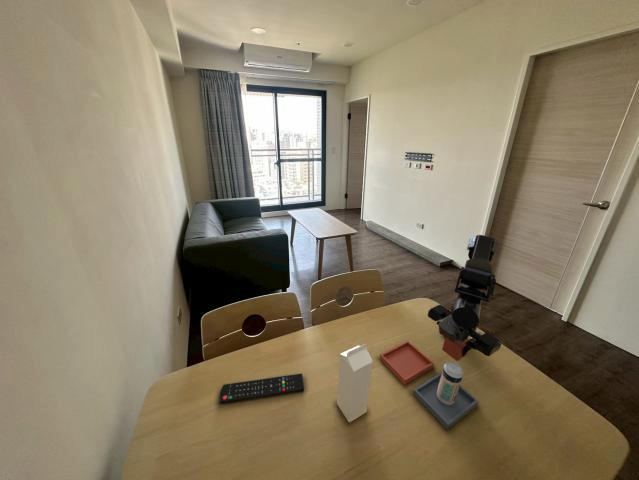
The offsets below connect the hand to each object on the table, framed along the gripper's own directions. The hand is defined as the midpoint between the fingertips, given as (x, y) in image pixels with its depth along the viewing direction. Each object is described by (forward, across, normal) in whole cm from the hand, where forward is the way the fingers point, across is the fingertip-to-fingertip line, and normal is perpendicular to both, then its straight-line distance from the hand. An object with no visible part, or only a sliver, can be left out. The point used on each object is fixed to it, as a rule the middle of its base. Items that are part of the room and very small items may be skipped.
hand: (455, 349), depth 76 cm
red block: (+1, 0, 0) cm, 1 cm away
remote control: (+11, -24, -52) cm, 59 cm away
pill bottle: (+11, +4, -8) cm, 14 cm away
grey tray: (+11, +4, -8) cm, 14 cm away
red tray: (+11, -10, -8) cm, 17 cm away
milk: (+11, -7, -33) cm, 35 cm away
